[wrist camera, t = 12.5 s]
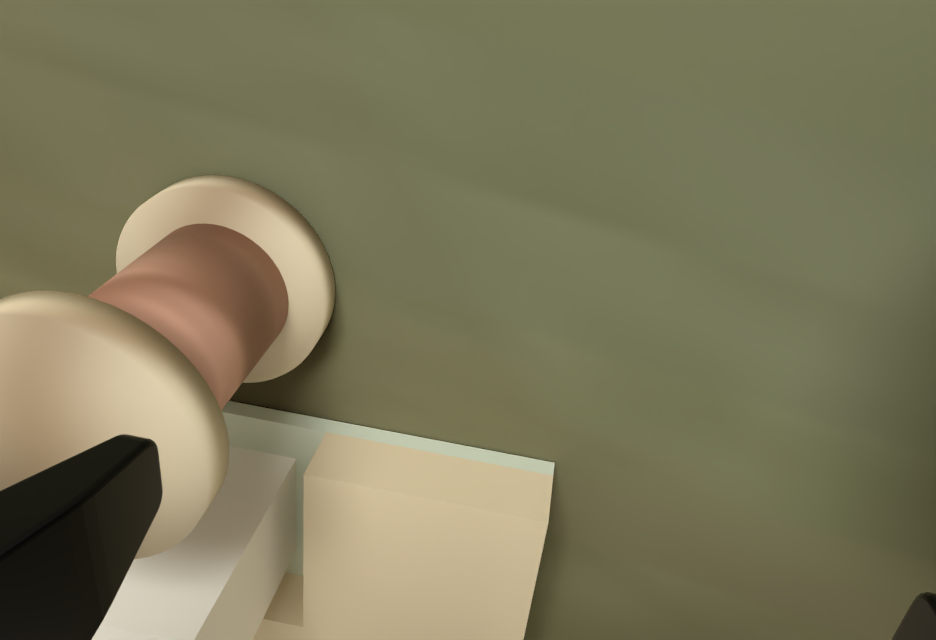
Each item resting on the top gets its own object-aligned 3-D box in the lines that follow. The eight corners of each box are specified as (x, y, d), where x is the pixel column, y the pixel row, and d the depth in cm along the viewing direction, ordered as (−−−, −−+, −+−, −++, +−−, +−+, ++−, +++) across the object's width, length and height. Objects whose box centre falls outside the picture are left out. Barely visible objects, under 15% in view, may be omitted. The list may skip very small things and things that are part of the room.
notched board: (554, 462, 24) (548, 522, 21) (514, 655, 28) (505, 721, 26) (-52, 347, 25) (-116, 391, 23) (1, 545, 30) (-49, 598, 28)
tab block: (296, 549, 26) (201, 745, 20) (184, 526, 27) (59, 711, 21) (296, 458, 24) (191, 645, 18) (175, 434, 25) (34, 609, 19)
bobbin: (337, 193, 21) (197, 347, 14) (333, 380, 24) (216, 584, 17) (123, 159, 21) (-115, 289, 14) (146, 346, 24) (-44, 529, 17)
